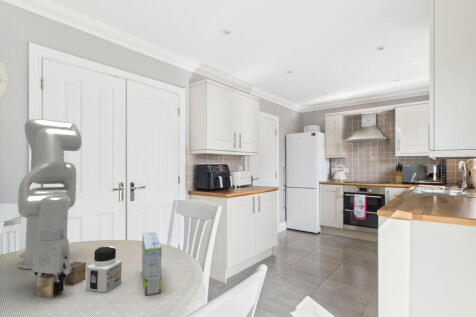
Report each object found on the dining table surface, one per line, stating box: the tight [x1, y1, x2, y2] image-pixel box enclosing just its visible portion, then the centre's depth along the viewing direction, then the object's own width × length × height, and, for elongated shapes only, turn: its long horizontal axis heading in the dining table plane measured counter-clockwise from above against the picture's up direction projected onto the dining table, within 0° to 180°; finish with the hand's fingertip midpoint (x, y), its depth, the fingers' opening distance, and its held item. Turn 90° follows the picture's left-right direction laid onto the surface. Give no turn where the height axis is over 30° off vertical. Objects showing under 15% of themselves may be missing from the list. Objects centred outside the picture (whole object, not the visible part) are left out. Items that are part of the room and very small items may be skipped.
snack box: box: [141, 231, 163, 297], centre depth 91 cm, size 21×6×15 cm, turn 23°
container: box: [85, 245, 123, 293], centre depth 87 cm, size 8×8×13 cm
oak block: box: [36, 273, 65, 299], centre depth 81 cm, size 5×5×6 cm
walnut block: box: [64, 260, 87, 286], centre depth 90 cm, size 5×5×6 cm
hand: (50, 291), depth 81 cm, fingers closed on oak block, 4 cm apart
